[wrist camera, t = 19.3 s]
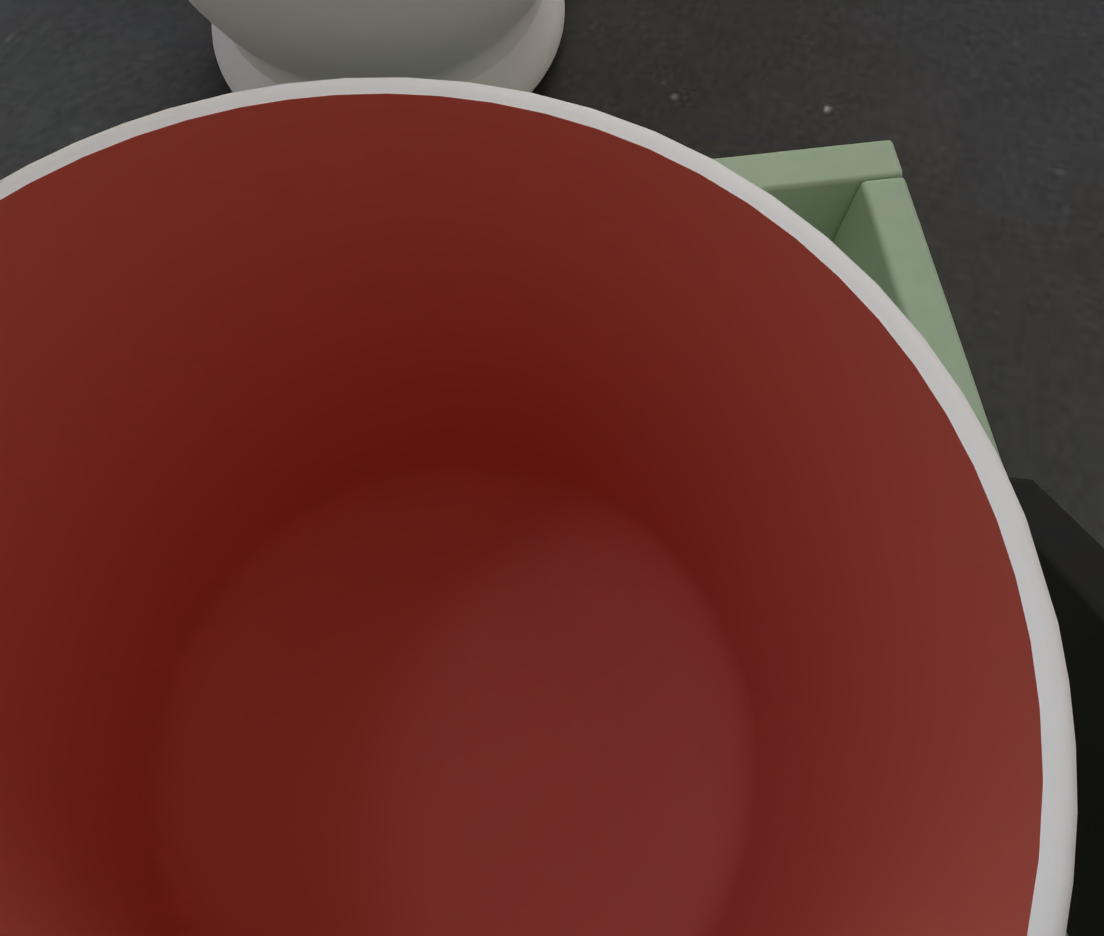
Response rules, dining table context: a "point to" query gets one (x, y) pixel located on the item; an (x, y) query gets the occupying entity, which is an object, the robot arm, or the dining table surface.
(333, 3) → the jar
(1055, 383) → the dining table surface
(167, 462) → the cup
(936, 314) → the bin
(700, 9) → the dining table surface
